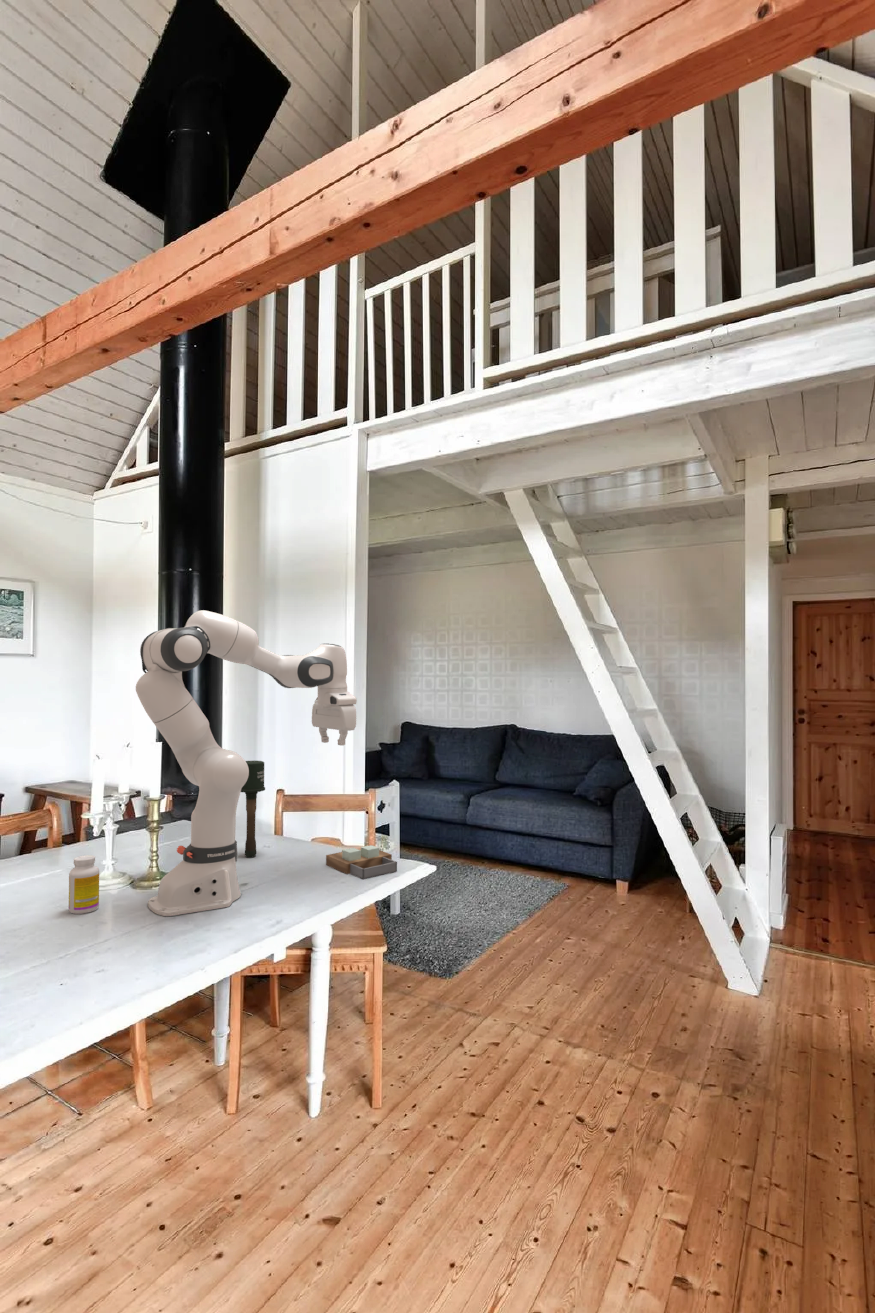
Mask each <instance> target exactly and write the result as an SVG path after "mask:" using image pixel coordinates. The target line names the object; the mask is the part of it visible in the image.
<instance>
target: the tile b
mask: <svg viewBox="0 0 875 1313" xmlns="http://www.w3.org/2000/svg"><path fill="white" fill-rule="evenodd" d="M360 848H361V856H363V857H366V858H372V857H377V856H379V850H380V847H377V846H375V845H373V844H372V845H371V844H370V845H365V846H360Z"/></svg>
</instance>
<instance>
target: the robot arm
mask: <svg viewBox="0 0 875 1313" xmlns="http://www.w3.org/2000/svg"><path fill="white" fill-rule="evenodd" d="M259 644H260V642H259V636H258V634H257V631H256V630H254V629H253V628H252V627H250V625H247V624H245V623H244V622H241V621H239V620H237V619H235V618H232V617H230V616H227V615H225V614H221V613H217V612H213V611H209V610H204V609H203V610H201V609H200V610H197V611H195V612H194V613H192V615H190V617H189V618H188V619H187V621H186V623H185V625H184V627H178V628H176V627H175V628H172V627H168V628H164V629H160V630H156V631H153V632H151V633H149V634H148V635H147V636H146V637H145V638H144V639H143V640H142V642H141V644H140V650H139V652H140V654H139V655H140V659H141V668H142V671H143V673H144V674H142V675H141V676H140V678H139V679H138V680H137V681H136V685H135V692H136V694H137V697H138V699H139V701H140V703H141V706H142V707H143V709H144V711H145V713H146V714H147V716H148V717H149V719H150V720H151V722H152V723H153V725H154V726H155V727H156V729H157V730H158V732H159V733H160V734H161V736H162V737H163V738H164V740H165V741H166V743H167V744H168V745H169V747H170V748H171V749H170V750H171V751H172V753H173V754H174V757H175V759H176V760H177V763H178V764H179V766H180V768H181V772H182V773H183V775H184V776H185V778H186V779H187V780H188V781H189V782H190V783H191V784H193V785H195V786H198V788H199V789H198V790H199V791H198V797H197V799H196V804H195V807H194V809H193V811H192V812H191V816H190V821H191V823H190V843H189V845H188V846H187V847H185V846H184V845H179V846H178V847H177V848H176V853H178V854H179V855H182V860H181V861H180V862H179V863H178V864H177V865H176V866H175V867H173V868H172V869H171V870H170V871H169V872H168V873H166V874H165V875H163V877H162V878H161V880H160V882H159V886H158V890H157V895H155V896H152V897H150V898H149V899H148V903H147V906H148V909H149V910H150V911H151V912H153V913H155V914H156V915H159V916H164V917H172V916H179V915H185V914H192V913H196V912H202V911H203V912H205V911H210V910H215V909H222V908H228V907H230V906H231V905H232V904H233V902H235V901H236V900H238V899H239V898H241V896H242V893H241V889H240V885H239V880H238V874H237V873H238V872H237V865H236V864H237V861H238V860H237V859H238V841H237V840H236V822H237V821H236V820H237V819H236V818H237V808H238V803H239V800H240V796H241V793H242V792H241V789H242V787H243V786H244V785H245V783H246V781H247V779H248V776H249V768H248V765H247V763H246V761H247V760H245V759H244V758H243V757H242V756H241V755H239V754H238V753H237V752H235V751H233V750H230V749H226V748H225V749H224V748H222V747H221V746H220V745H219V744H218V743H217V741H216V740H215V738H214V735H213V733H212V730H211V727H210V722H209V720H208V718H207V717H206V715H205V714H204V713H203V711H202V709H201V708H200V706H199V705H198V703H197V702H196V700H195V699H194V697H193V696H192V694H191V693H190V692H189V691H188V689H187V688H186V686H185V684H184V681H183V672H187V671H190V670H191V671H192V670H193V669H195V668H196V667H197V666H199V665H200V664H201V663H202V661H203V660H204V659H205V657H206V655H207V654H210V655H212V656H215V657H217V658H219V659H222V660H224V661H227V662H231V663H235V664H241V665H246V666H249V667H252V668H254V669H256V670H257V671H258V670H259V671H260V672H263V673H265V674H267V675H269V676H270V677H271V678H272V679H273V680H275V681H276V683H277V684H278V685H279V686H281V687H282V688H285V689H296V688H297V689H298V688H299V689H300V688H301V689H312V688H316V687H317V697H316V699H315V700H314V703H313V705H312V708H311V709H312V710H311V724H312V727H314V728H315V727H316V728H318V732H319V735H320V739H321V743H325V744H326V743H327V744H328V743H329V741H330V737H329V736H328V732H327V731H328V730H329V729H330V730H336V731H338V734H339V737H338V739H337V746H345V745H346V739H347V736H348V734H349V733H348V732H351V731H354V730H355V728H356V727H357V708H356V706H355V705H357V697H356V696H354V695H353V694H352V693H350V692H349V691H348V685H347V675H348V664H347V663H348V662H347V661H348V660H347V655H346V651H345V648H344V647H342V646H341V645H339V644H335V643H321V644H320V643H319V645H318V646H317V647H316V648H315V649H314V650H312V651H309V652H308V653H306V654H302V655H301V654H300V655H299V654H298V655H294V654H283V655H282V654H277V653H275V652H272V651H271V650H269V649H266V648H264V647H262V646H260V645H259Z"/></svg>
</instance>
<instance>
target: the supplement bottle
mask: <svg viewBox="0 0 875 1313" xmlns="http://www.w3.org/2000/svg"><path fill="white" fill-rule="evenodd" d="M95 862H96V856H95V855H92V854H91V855H85V854H84V855H80V856H76V857H74V858H73V865H74V867H73V868H72V869H70V871H69V873H68V875H69V876H68V912H69V913H71V914H74V915H82V914H83V915H84V914H89V913H92V912H94V911H96V910H98V908H99V906H100V869H99V867H98V866H96V865H95Z"/></svg>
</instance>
